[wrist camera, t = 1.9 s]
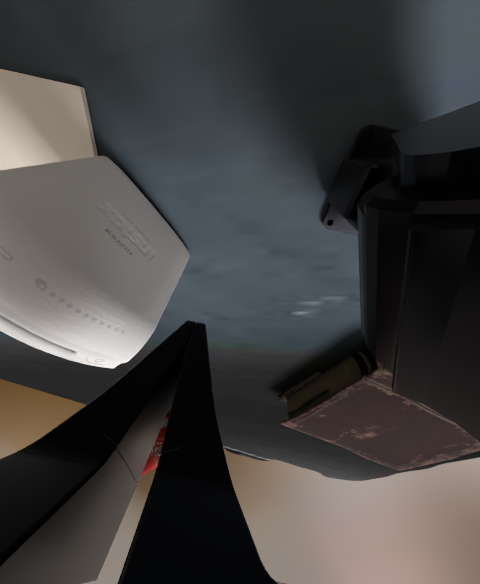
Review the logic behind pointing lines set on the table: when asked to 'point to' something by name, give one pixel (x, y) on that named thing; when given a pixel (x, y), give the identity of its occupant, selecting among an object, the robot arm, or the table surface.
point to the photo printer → (83, 261)
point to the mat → (42, 121)
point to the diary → (373, 417)
